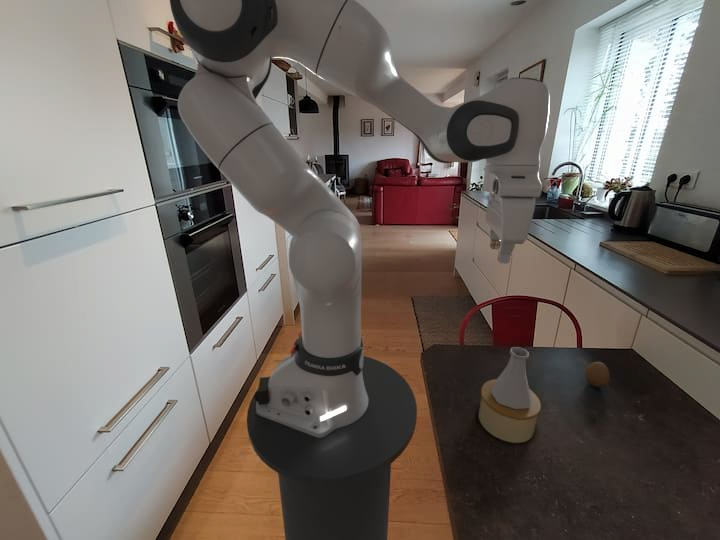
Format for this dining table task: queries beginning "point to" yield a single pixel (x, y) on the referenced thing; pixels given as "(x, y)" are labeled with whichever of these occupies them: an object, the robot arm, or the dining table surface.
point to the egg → (597, 374)
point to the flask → (513, 382)
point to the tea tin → (507, 417)
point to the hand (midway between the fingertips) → (498, 254)
